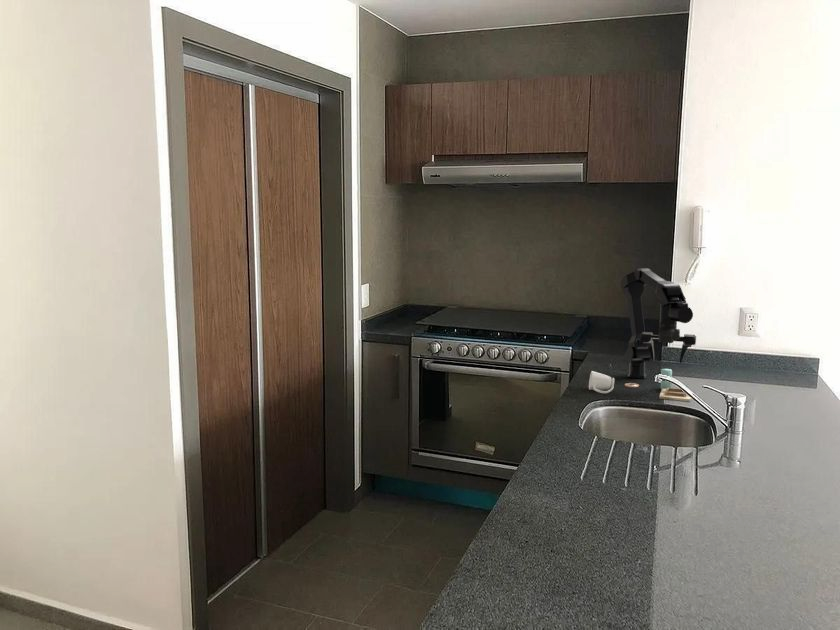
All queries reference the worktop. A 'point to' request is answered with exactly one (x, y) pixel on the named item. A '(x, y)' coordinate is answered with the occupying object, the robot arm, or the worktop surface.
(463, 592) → the worktop surface
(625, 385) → the peach flat disc
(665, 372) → the peg
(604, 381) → the cup
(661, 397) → the board
